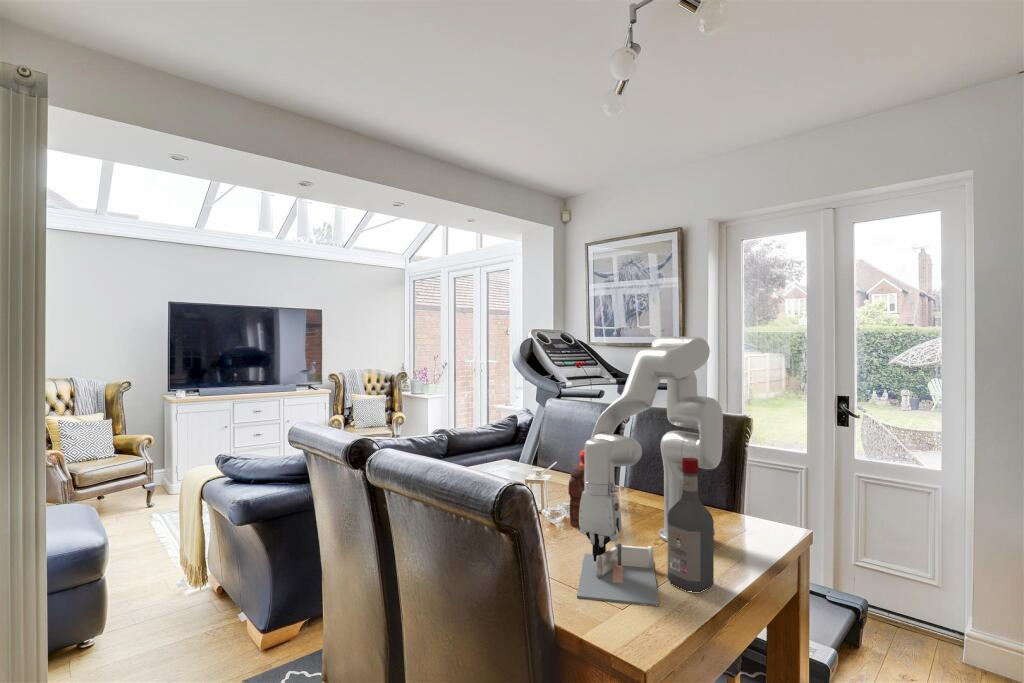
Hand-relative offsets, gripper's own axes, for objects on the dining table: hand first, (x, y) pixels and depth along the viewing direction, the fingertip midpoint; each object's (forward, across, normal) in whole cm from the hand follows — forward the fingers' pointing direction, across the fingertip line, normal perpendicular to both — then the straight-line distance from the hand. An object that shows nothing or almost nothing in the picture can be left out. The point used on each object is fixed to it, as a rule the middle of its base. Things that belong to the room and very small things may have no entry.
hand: (599, 559), depth 132 cm
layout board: (+3, -6, +1) cm, 6 cm away
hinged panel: (+2, -2, +1) cm, 3 cm away
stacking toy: (+3, +31, -50) cm, 59 cm away
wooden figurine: (+3, +21, -30) cm, 36 cm away
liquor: (+3, -21, -7) cm, 22 cm away
